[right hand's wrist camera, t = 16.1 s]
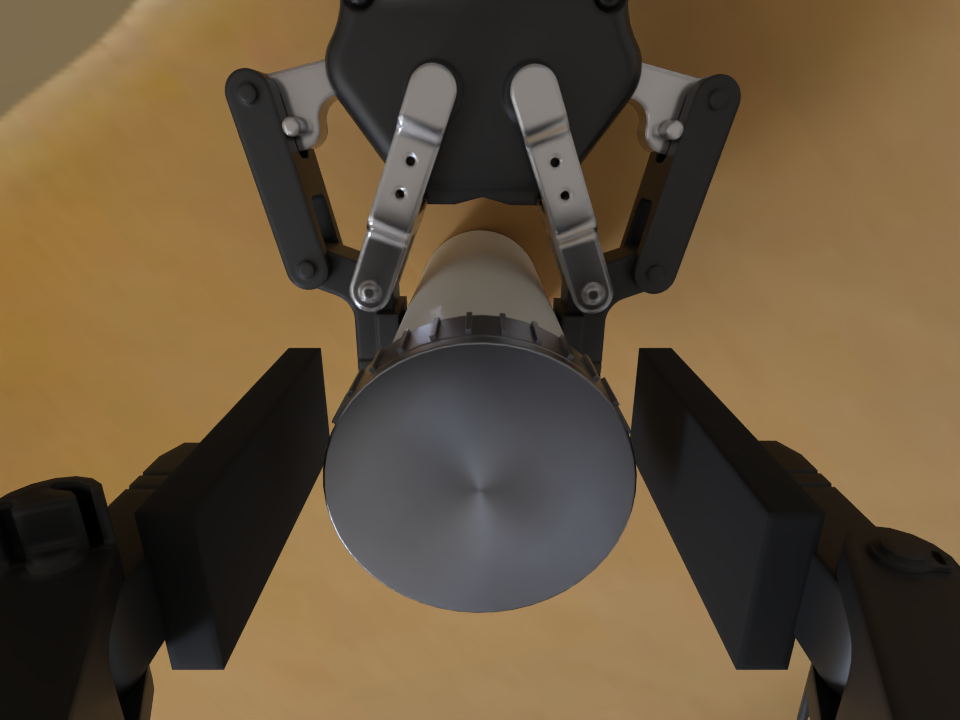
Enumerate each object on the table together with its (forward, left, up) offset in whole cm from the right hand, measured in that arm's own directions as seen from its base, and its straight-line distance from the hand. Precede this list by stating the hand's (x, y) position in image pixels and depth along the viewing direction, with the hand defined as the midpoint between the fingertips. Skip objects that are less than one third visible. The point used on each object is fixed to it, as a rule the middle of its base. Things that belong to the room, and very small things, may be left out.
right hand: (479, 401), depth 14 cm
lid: (0, 0, +4) cm, 4 cm away
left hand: (-1, +2, -5) cm, 6 cm away
